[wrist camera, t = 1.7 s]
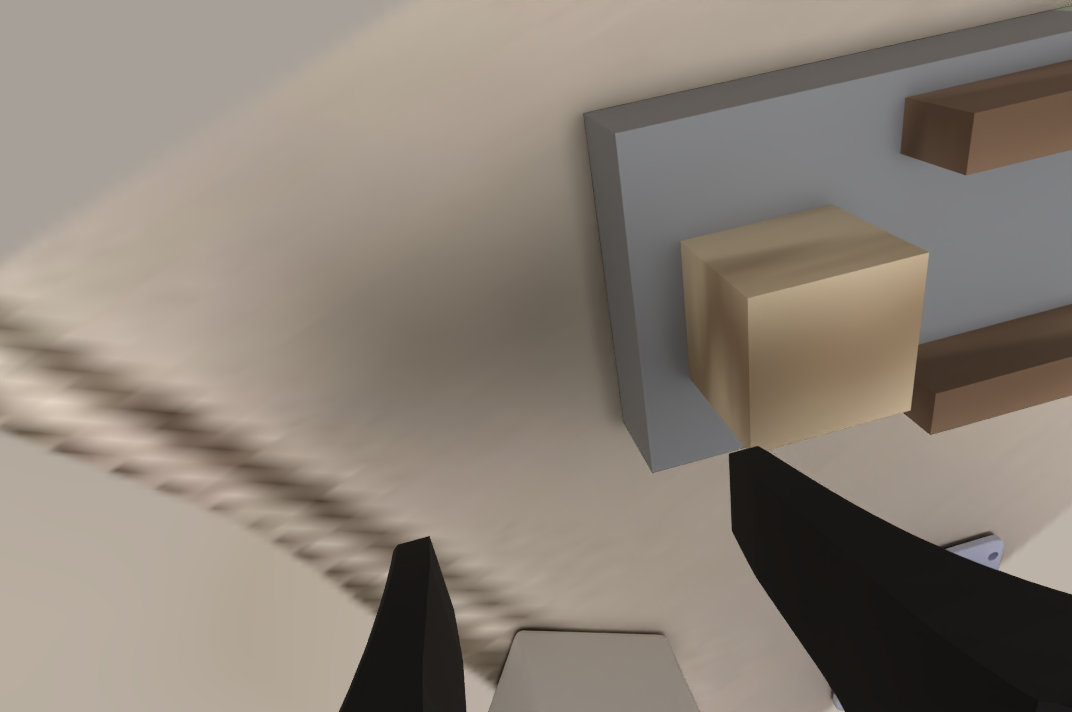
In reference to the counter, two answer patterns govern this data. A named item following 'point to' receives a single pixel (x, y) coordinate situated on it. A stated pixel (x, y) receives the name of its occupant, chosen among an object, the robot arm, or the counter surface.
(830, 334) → the maple block
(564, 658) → the white stepped box
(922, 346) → the brown rectangular blocks
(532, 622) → the counter surface
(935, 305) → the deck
